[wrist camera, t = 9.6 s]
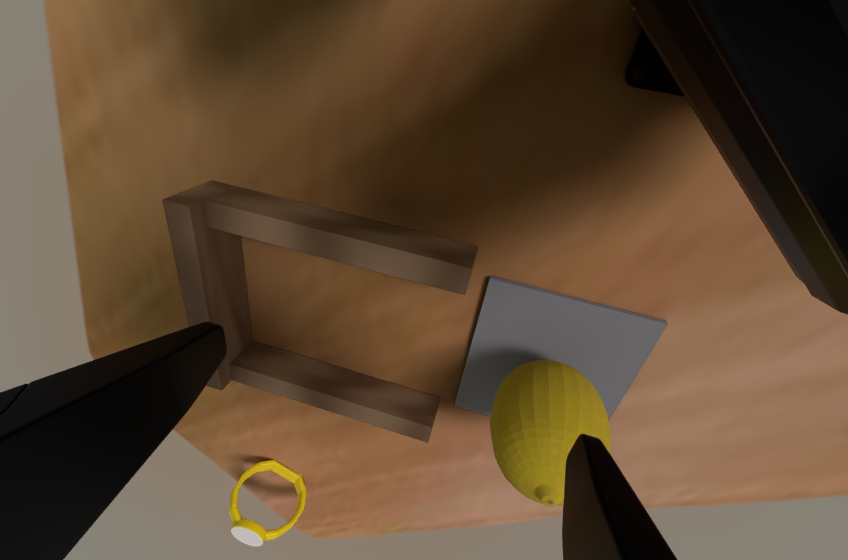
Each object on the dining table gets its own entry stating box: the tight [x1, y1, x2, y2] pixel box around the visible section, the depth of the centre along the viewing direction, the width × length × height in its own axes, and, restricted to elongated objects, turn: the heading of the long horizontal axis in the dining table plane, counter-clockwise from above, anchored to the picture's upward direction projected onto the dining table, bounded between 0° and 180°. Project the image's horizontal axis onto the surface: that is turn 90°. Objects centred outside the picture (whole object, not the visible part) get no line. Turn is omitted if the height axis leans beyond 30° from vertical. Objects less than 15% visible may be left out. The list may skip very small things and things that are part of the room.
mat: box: [454, 276, 668, 421], centre depth 23 cm, size 9×10×1 cm
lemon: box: [490, 360, 611, 507], centre depth 19 cm, size 6×6×8 cm
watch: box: [229, 460, 306, 546], centre depth 33 cm, size 6×3×6 cm, turn 60°
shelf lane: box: [162, 181, 478, 443], centre depth 23 cm, size 16×13×4 cm
